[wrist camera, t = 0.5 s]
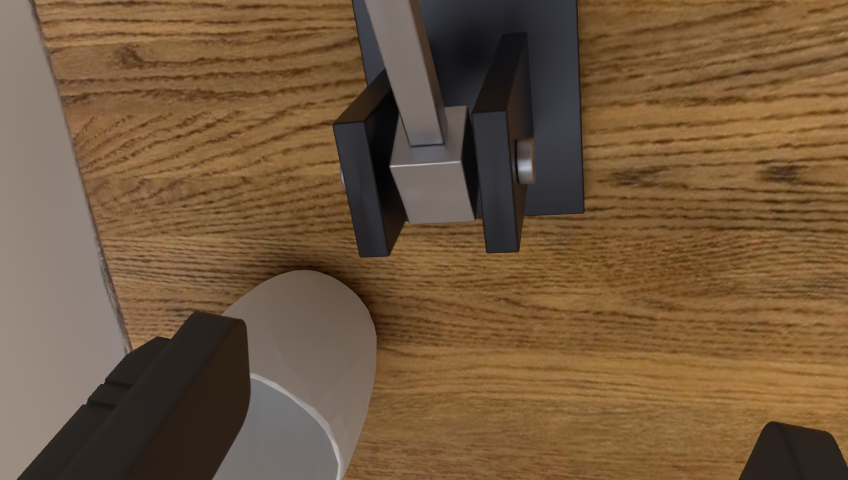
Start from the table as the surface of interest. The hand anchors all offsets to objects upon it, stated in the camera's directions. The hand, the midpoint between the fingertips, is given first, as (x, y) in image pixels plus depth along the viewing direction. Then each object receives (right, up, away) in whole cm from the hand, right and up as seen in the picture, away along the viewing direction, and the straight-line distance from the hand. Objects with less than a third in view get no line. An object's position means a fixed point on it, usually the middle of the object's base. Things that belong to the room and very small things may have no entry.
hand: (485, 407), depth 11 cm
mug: (-8, -3, +28) cm, 30 cm away
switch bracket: (+1, +10, +19) cm, 22 cm away
